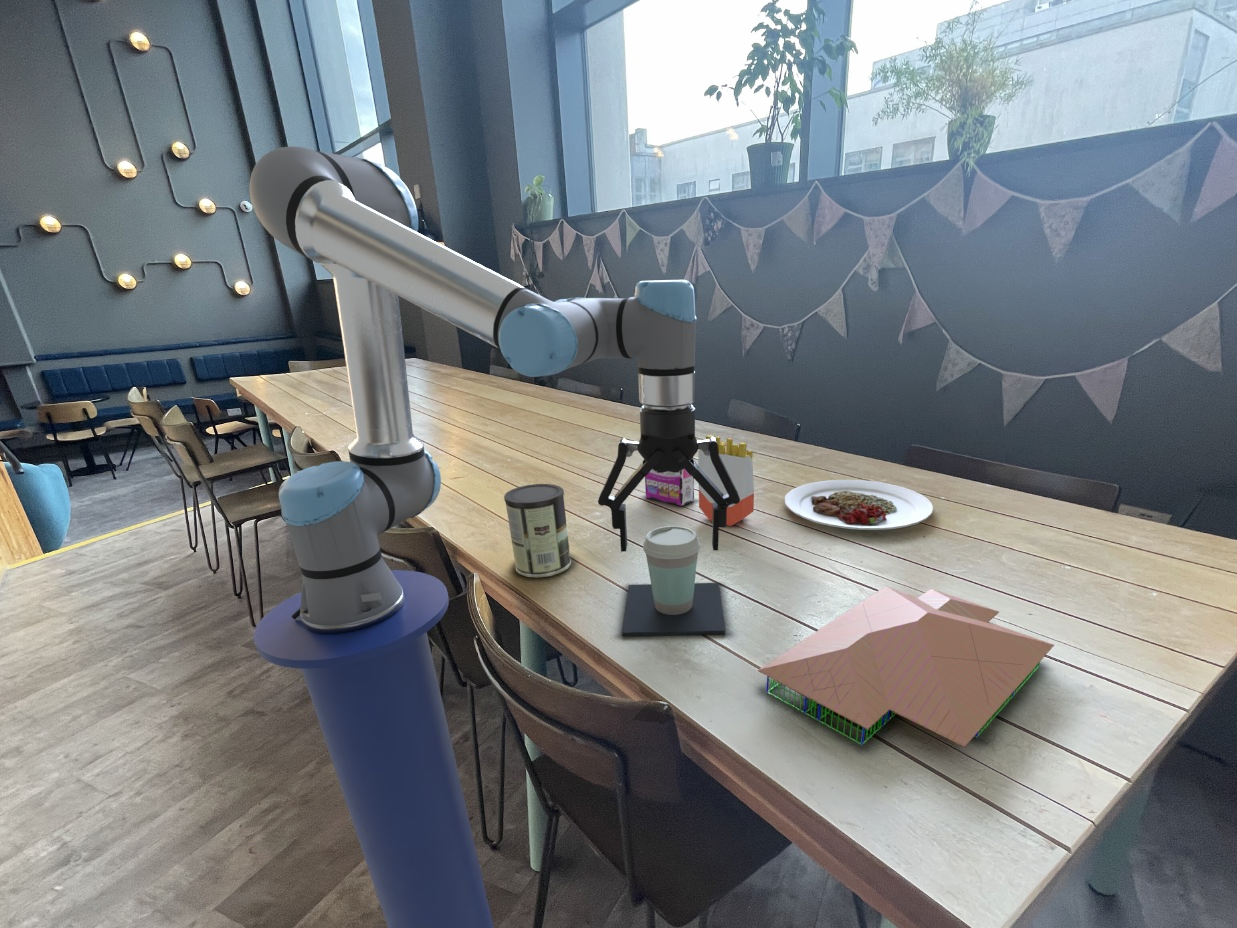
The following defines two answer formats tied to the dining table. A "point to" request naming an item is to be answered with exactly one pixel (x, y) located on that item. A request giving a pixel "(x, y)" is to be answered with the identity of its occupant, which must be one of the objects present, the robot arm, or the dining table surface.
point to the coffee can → (538, 529)
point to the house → (910, 664)
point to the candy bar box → (670, 487)
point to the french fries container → (740, 474)
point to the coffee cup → (672, 567)
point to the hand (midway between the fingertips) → (669, 547)
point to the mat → (652, 622)
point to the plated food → (858, 504)
